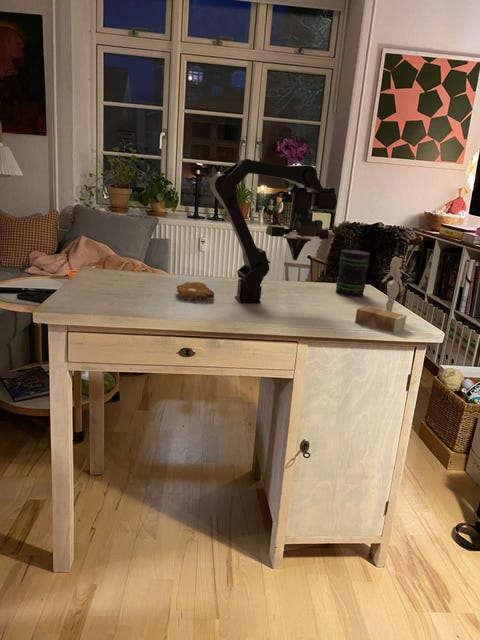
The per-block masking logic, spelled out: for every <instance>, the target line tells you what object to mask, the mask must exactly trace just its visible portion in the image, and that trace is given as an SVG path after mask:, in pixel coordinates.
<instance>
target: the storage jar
mask: <svg viewBox="0 0 480 640" xmlns="http://www.w3.org/2000/svg"><path fill="white" fill-rule="evenodd" d="M340 253H341V254H340V257H339V265H338V266H339V270H338V271H339V272H338V276H337V279H336V289H335V294H337V295H339V296H341V297H342V296H343V297H349V298H363V297H364V291H365V289H366V281H367V280H366V276H367V270H368V268H369V264H370V256H371V253H370V252H369V251H366V250H360V249H352V248H351V249H348V248H347V249H346V248H345V249H341V252H340Z"/></svg>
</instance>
